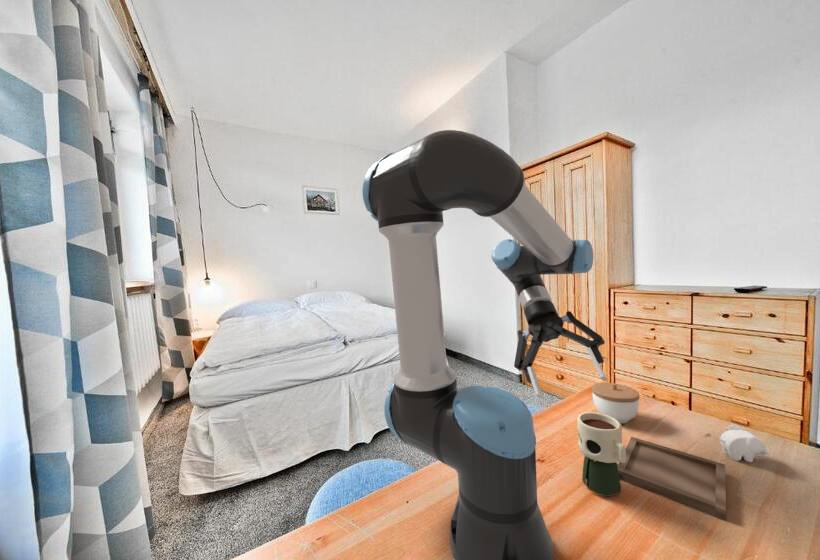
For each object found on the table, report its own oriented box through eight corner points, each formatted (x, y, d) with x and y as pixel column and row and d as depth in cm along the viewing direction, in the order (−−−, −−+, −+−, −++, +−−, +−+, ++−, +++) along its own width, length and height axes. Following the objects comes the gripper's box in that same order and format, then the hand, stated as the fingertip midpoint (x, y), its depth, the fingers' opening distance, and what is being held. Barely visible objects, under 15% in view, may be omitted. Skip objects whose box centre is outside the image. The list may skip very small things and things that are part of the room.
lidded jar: (650, 427, 76) (649, 391, 76) (608, 429, 76) (607, 393, 76) (621, 407, 87) (620, 375, 86) (584, 409, 87) (583, 377, 87)
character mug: (565, 471, 62) (562, 410, 61) (594, 465, 63) (592, 405, 63) (609, 513, 51) (606, 439, 51) (643, 504, 52) (641, 432, 52)
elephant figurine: (781, 471, 58) (780, 442, 58) (728, 465, 61) (727, 436, 61) (754, 451, 65) (754, 424, 64) (707, 446, 67) (707, 420, 67)
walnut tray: (726, 521, 48) (726, 510, 48) (616, 478, 59) (615, 469, 59) (725, 473, 59) (724, 464, 59) (631, 444, 69) (631, 436, 69)
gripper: (591, 293, 75) (637, 375, 61) (501, 330, 86) (522, 405, 72) (583, 279, 70) (631, 364, 56) (488, 319, 81) (509, 398, 68)
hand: (570, 387), depth 64 cm, fingers open, 13 cm apart
